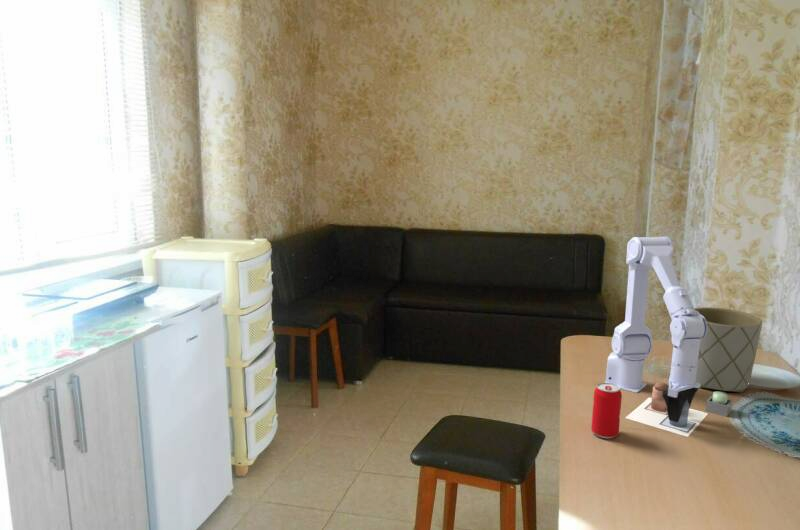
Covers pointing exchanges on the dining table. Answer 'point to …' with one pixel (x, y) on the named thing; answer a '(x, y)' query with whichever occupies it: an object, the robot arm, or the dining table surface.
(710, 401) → the button housing
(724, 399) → the button
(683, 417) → the blue gray jar
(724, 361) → the planter
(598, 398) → the beverage can
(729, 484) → the dining table surface
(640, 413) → the picture sheet
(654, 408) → the brown jar
